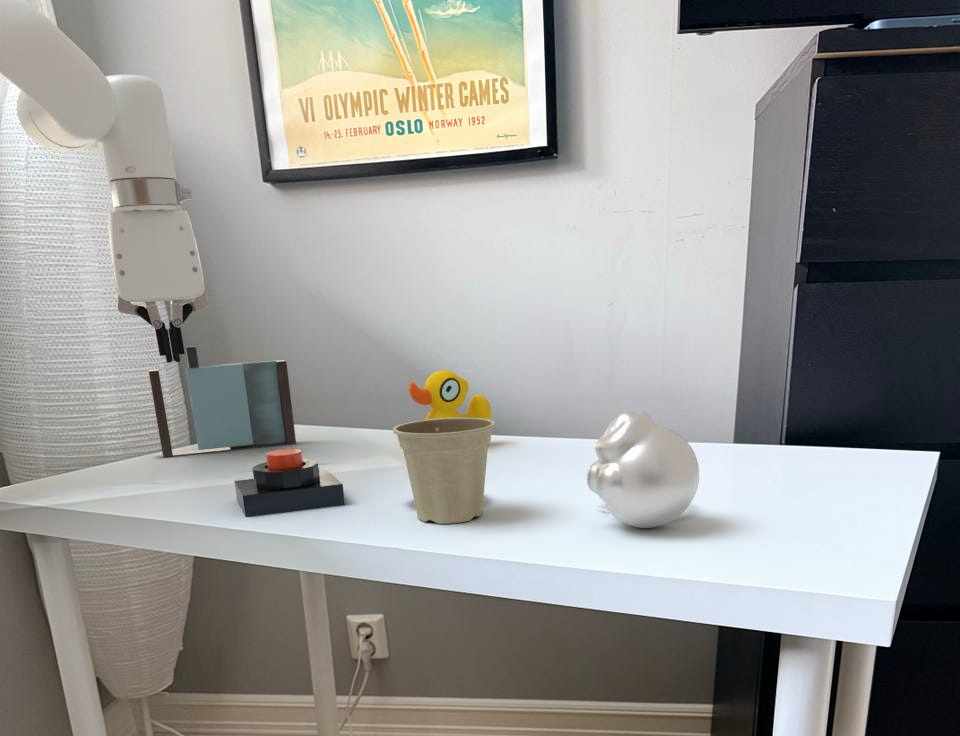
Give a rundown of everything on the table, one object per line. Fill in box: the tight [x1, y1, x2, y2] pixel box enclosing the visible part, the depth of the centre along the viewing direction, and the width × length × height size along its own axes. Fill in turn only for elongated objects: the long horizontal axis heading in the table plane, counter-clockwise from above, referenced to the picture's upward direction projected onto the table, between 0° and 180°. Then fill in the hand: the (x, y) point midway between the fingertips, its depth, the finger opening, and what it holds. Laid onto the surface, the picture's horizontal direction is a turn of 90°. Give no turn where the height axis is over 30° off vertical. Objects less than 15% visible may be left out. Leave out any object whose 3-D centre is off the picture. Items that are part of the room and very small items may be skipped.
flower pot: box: [392, 418, 496, 525], centre depth 87 cm, size 9×9×9 cm
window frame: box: [148, 359, 297, 459], centre depth 120 cm, size 17×2×12 cm, turn 110°
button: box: [265, 448, 303, 469], centre depth 95 cm, size 4×4×2 cm
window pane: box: [185, 345, 253, 450], centre depth 119 cm, size 7×1×13 cm, turn 110°
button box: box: [233, 458, 346, 518], centre depth 96 cm, size 10×8×4 cm
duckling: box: [408, 369, 492, 420], centre depth 121 cm, size 11×5×10 cm, turn 119°
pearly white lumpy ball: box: [586, 411, 700, 529], centre depth 80 cm, size 9×10×10 cm
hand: (173, 361), depth 115 cm, fingers closed
